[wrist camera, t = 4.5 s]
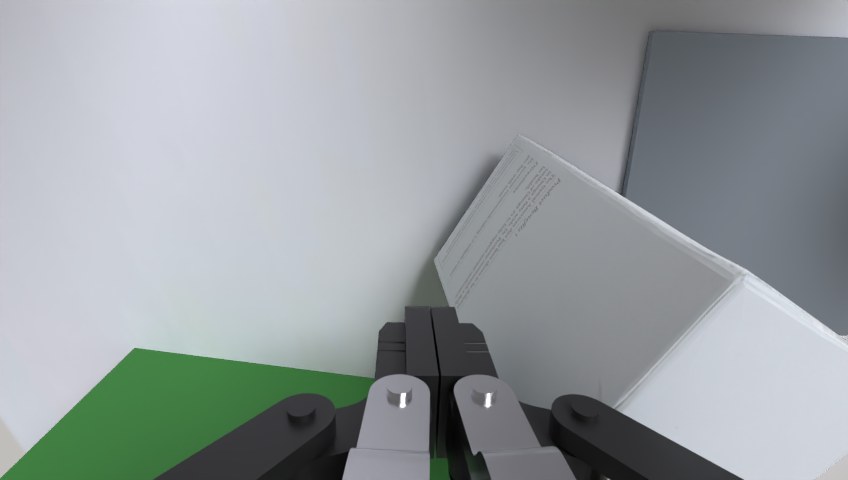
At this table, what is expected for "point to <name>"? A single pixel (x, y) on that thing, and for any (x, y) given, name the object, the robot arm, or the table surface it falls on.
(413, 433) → the robot arm
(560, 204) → the supplement box
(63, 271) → the table surface
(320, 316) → the table surface
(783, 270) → the mat
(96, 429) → the hardback book
